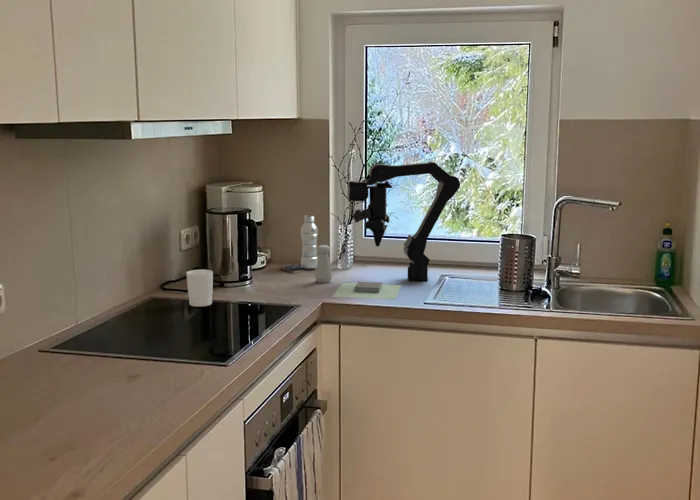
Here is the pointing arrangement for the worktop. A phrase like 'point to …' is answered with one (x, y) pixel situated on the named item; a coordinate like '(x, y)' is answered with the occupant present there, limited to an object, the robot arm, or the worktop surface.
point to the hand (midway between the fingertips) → (377, 246)
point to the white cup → (200, 287)
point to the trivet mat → (384, 293)
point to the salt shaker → (323, 265)
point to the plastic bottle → (309, 243)
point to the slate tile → (368, 287)
